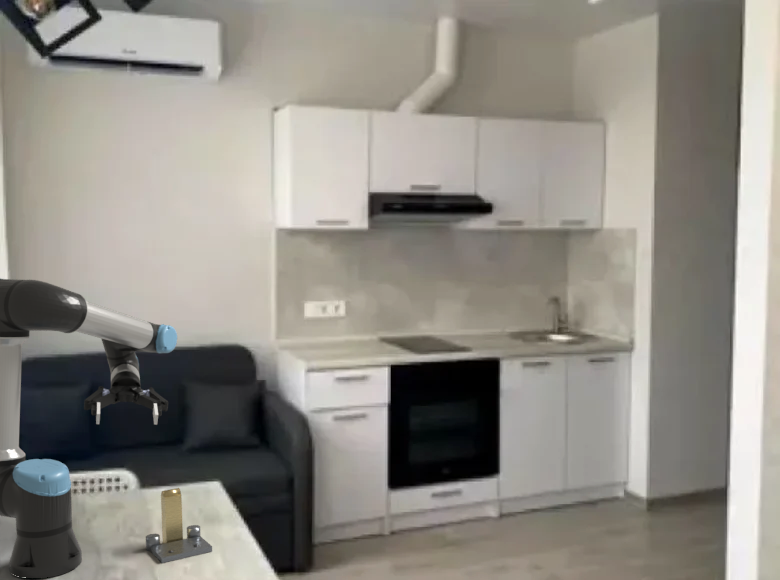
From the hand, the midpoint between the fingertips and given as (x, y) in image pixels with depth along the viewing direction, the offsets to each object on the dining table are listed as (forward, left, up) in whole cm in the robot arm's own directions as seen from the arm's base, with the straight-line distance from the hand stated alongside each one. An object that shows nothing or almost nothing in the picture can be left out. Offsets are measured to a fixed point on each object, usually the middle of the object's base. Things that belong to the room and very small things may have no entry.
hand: (127, 419), depth 208 cm
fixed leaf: (+7, -16, -29) cm, 34 cm away
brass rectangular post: (+7, -11, -29) cm, 32 cm away
